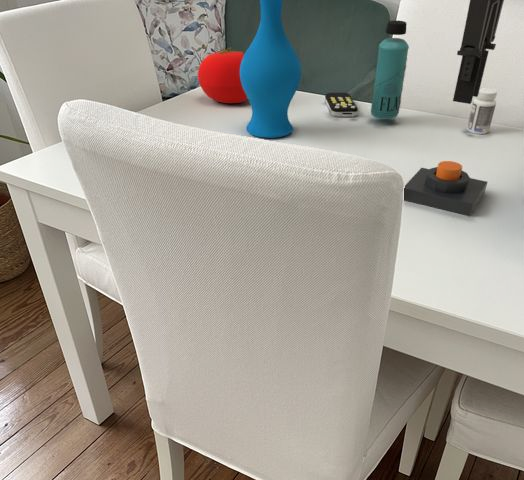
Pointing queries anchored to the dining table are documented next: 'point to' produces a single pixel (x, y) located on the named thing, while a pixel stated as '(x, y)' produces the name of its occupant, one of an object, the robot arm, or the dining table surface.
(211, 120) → the dining table surface
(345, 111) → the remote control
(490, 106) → the pill bottle
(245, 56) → the vase
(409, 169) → the dining table surface
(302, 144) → the dining table surface
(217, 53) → the tomato
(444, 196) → the dark grey mounting base
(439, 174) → the button
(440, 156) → the dining table surface
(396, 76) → the beverage bottle
